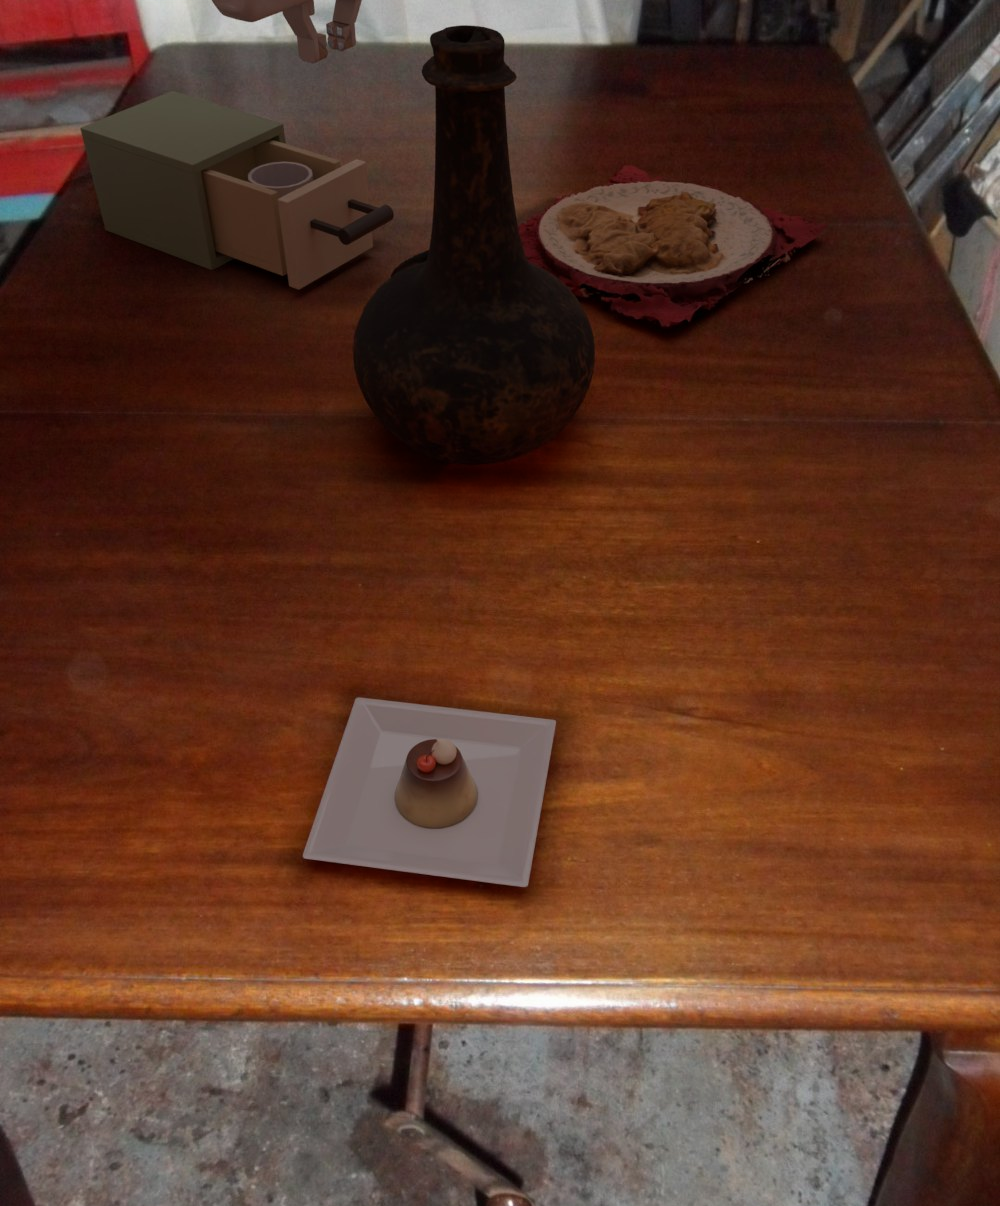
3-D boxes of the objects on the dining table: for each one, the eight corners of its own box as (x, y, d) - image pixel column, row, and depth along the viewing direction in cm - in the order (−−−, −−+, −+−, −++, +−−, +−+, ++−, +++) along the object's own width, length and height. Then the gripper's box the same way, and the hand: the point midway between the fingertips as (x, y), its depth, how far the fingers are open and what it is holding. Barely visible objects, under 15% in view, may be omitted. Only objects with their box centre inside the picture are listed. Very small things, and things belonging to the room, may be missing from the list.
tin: (245, 243, 110) (234, 177, 105) (286, 221, 113) (278, 156, 109) (291, 260, 107) (282, 193, 103) (332, 236, 111) (325, 171, 106)
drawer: (412, 260, 110) (407, 174, 104) (338, 304, 104) (329, 216, 98) (267, 211, 117) (255, 128, 111) (191, 250, 111) (174, 164, 106)
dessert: (304, 870, 63) (292, 813, 60) (357, 709, 71) (350, 651, 68) (527, 899, 62) (528, 843, 58) (555, 732, 70) (558, 674, 67)
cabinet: (296, 226, 117) (283, 123, 110) (212, 270, 110) (192, 164, 103) (191, 189, 123) (172, 90, 116) (105, 230, 116) (79, 127, 109)
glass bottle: (508, 349, 100) (509, -30, 80) (638, 449, 90) (677, 44, 70) (320, 412, 94) (269, 16, 73) (437, 528, 83) (415, 105, 63)
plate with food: (824, 244, 114) (832, 208, 112) (669, 339, 101) (674, 300, 98) (627, 180, 125) (629, 146, 123) (462, 258, 112) (462, 221, 109)
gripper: (367, -187, 92) (380, 12, 102) (173, -137, 81) (209, 82, 91) (431, -178, 89) (438, 26, 99) (240, -125, 78) (270, 100, 88)
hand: (328, 53), depth 95 cm, fingers closed
